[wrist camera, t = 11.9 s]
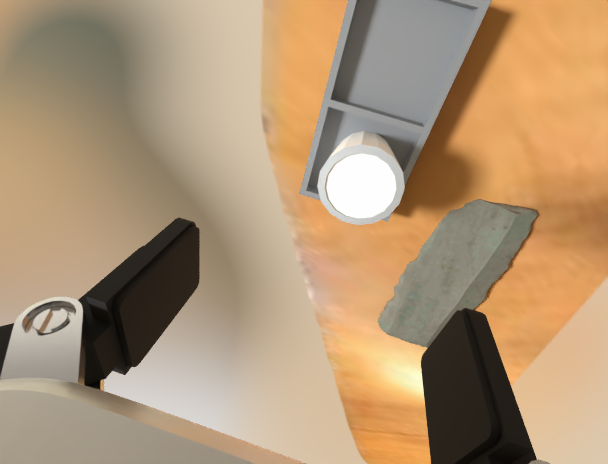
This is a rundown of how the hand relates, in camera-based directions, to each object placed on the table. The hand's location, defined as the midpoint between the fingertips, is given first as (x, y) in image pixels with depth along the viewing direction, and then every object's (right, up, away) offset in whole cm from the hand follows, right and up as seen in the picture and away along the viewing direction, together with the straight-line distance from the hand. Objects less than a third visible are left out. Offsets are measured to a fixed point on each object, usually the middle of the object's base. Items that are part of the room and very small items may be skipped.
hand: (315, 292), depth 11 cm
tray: (+6, +13, +17) cm, 23 cm away
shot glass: (+5, +9, +19) cm, 22 cm away
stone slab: (+17, -3, +26) cm, 31 cm away
